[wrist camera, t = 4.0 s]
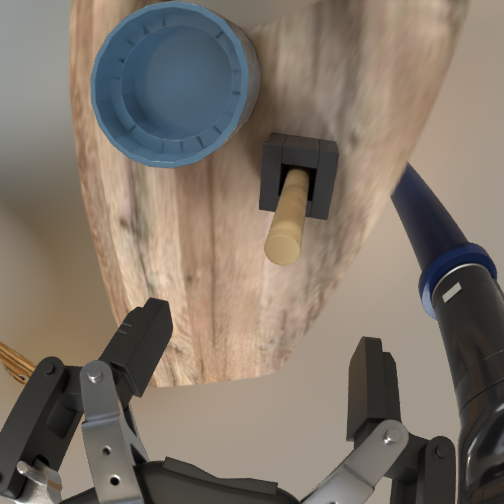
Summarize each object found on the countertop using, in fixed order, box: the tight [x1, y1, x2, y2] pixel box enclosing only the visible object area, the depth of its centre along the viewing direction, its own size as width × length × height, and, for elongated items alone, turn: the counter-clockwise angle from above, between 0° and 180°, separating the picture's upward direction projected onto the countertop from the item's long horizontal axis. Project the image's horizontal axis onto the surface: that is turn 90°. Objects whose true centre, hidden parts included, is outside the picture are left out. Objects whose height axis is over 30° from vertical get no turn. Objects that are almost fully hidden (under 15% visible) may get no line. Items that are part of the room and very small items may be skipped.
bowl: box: [91, 1, 261, 168], centre depth 24 cm, size 15×15×6 cm
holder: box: [259, 133, 339, 220], centre depth 27 cm, size 6×6×4 cm
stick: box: [264, 165, 311, 265], centre depth 23 cm, size 2×2×15 cm
